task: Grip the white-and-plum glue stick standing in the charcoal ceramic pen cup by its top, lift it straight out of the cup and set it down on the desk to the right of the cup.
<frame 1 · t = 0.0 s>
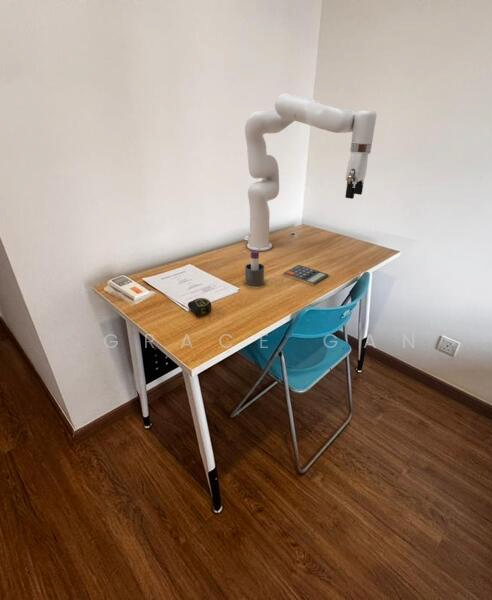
hand: (353, 196, 128), 31 cm above the table, tool pointing down, fingers open, 9 cm apart
pen cup: (254, 284, 127), on the table
glue stick: (254, 282, 127), point 1 cm above the table, touching pen cup
calculator: (305, 275, 135), on the table
tape measure: (199, 313, 108), on the table
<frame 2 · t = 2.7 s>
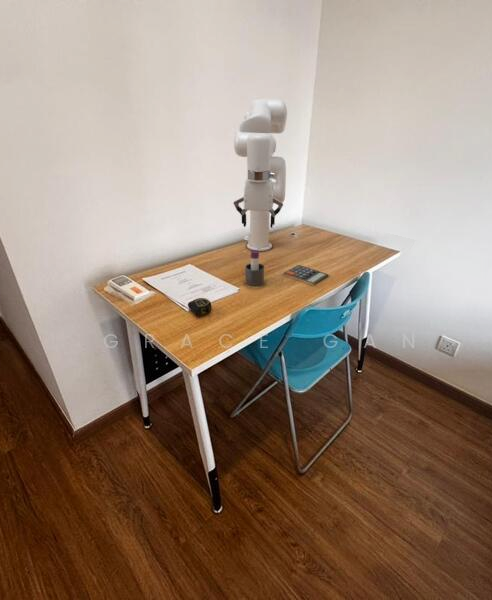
hand: (258, 226, 116), 23 cm above the table, tool pointing down, fingers open, 9 cm apart
nothing on the table moved.
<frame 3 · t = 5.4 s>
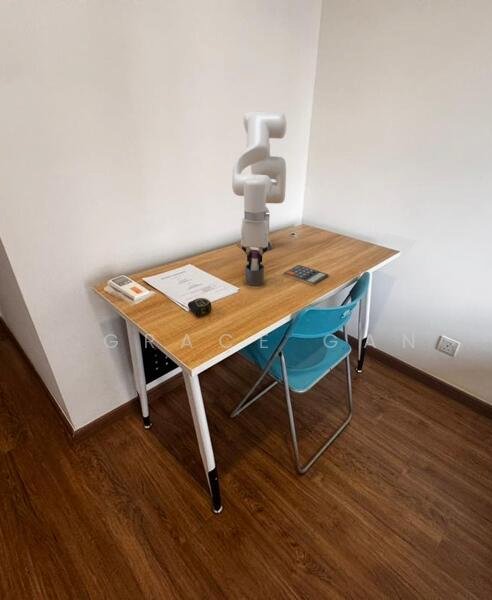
hand: (254, 263, 123), 9 cm above the table, tool pointing down, fingers closed on glue stick, 3 cm apart
glue stick: (254, 282, 127), point 1 cm above the table, touching gripper, pen cup
everything else where it was.
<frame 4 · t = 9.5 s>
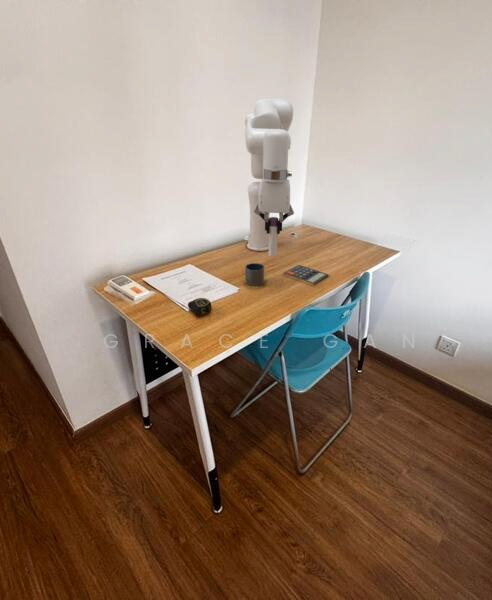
hand: (273, 232, 109), 24 cm above the table, tool pointing down, fingers closed on glue stick, 3 cm apart
glue stick: (272, 255, 113), point 16 cm above the table, touching gripper
everything else where it was.
when the fingers open (8 cm above the table, at t = 13.8 s): glue stick stays where it is, on the table.
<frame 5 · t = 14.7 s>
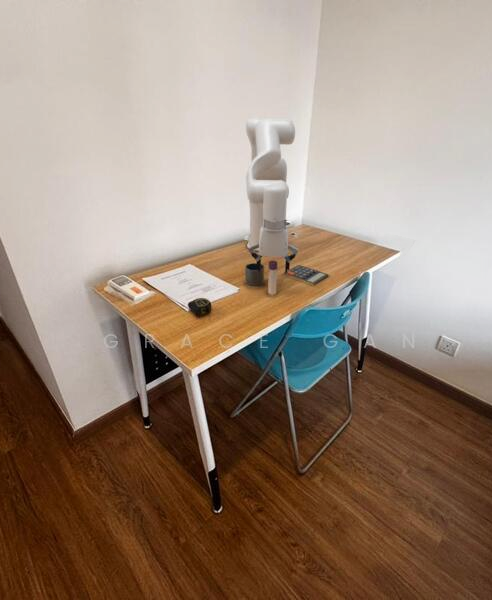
hand: (272, 270, 116), 10 cm above the table, tool pointing down, fingers open, 9 cm apart
glue stick: (272, 294, 120), on the table
everything else where it was.
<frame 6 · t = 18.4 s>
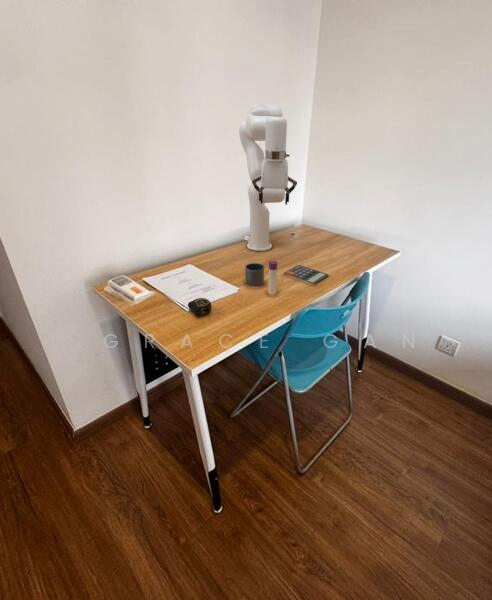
hand: (273, 203, 126), 28 cm above the table, tool pointing down, fingers open, 9 cm apart
nothing on the table moved.
at the end: glue stick inside the target area (1.0 cm from its centre), on the table; glue stick touching table; the gripper is holding nothing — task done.
